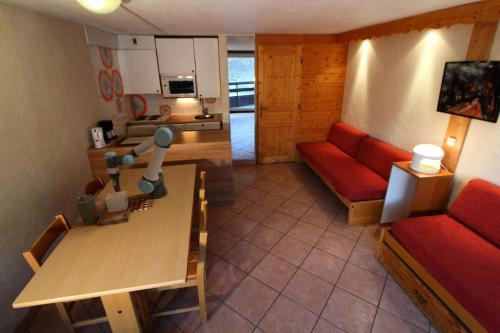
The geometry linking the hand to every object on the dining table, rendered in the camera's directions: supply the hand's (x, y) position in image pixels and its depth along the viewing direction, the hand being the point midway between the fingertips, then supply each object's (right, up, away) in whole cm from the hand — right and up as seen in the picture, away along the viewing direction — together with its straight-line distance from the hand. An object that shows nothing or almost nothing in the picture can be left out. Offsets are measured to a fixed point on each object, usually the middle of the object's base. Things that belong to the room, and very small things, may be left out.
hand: (120, 199), depth 198 cm
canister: (-8, -12, -24) cm, 28 cm away
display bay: (+8, -10, -21) cm, 24 cm away
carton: (+3, -5, -8) cm, 10 cm away
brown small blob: (-9, -7, -11) cm, 15 cm away
